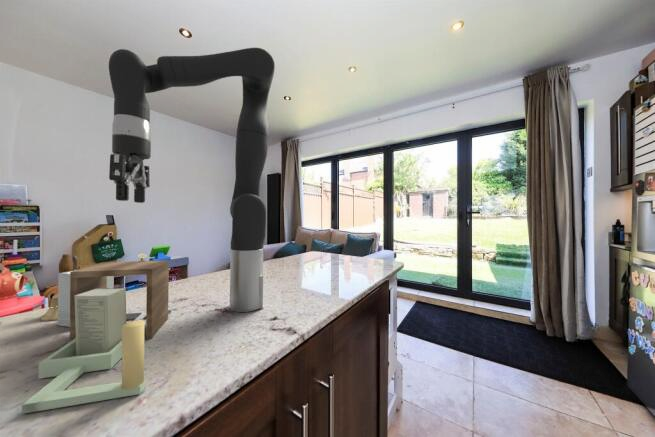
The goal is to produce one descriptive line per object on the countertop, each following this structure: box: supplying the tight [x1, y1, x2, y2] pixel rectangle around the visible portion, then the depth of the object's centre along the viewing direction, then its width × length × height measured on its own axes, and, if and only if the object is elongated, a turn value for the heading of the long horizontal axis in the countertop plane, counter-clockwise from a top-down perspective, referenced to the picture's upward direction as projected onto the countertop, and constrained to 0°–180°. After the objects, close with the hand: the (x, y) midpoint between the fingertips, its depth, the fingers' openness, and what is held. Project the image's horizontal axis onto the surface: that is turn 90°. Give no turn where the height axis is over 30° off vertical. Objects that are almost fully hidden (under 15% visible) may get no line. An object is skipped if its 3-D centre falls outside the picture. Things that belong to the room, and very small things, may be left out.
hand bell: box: [40, 253, 74, 322], centre depth 63 cm, size 8×8×16 cm
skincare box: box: [75, 287, 128, 356], centre depth 45 cm, size 6×4×12 cm
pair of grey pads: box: [126, 309, 172, 322], centre depth 62 cm, size 12×4×1 cm, turn 107°
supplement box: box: [57, 270, 115, 328], centre depth 59 cm, size 7×7×13 cm
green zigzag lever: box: [21, 320, 147, 414], centre depth 41 cm, size 17×18×10 cm
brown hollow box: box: [69, 259, 170, 342], centre depth 54 cm, size 14×10×15 cm
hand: (131, 201), depth 60 cm, fingers open, 8 cm apart
